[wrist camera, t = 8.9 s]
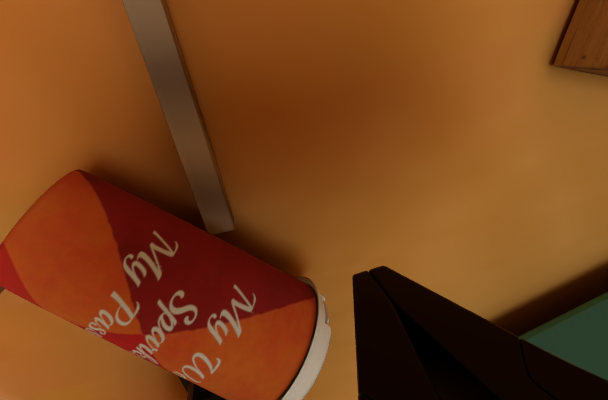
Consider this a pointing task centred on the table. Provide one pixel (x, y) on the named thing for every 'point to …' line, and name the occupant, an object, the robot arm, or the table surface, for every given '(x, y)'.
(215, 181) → the strip
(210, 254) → the coffee cup
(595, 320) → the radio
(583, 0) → the tray
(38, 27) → the table surface
